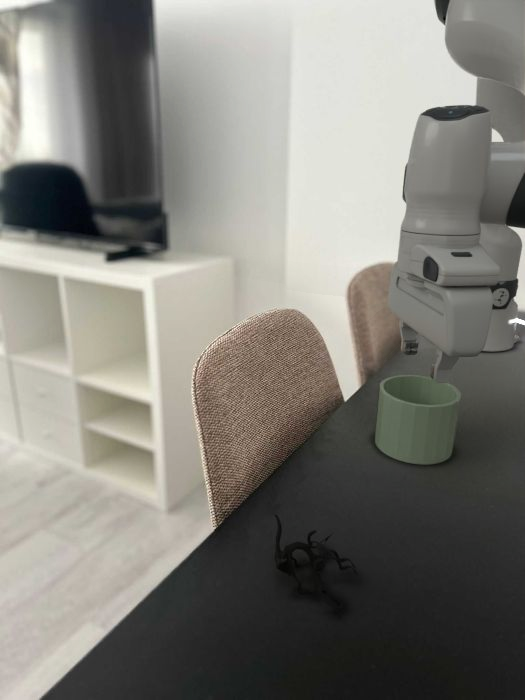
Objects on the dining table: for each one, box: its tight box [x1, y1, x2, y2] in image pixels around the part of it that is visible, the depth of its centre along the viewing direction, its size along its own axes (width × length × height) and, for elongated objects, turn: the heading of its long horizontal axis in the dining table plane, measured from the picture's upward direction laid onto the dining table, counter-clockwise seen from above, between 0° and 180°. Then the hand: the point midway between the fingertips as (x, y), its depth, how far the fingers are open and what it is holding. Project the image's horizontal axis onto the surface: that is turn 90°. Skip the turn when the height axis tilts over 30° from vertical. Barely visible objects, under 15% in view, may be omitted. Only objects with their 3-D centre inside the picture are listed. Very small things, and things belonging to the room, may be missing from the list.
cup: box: [374, 374, 462, 466], centre depth 67 cm, size 10×10×8 cm
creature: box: [273, 514, 359, 611], centre depth 45 cm, size 8×5×8 cm
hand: (423, 366), depth 65 cm, fingers open, 8 cm apart
